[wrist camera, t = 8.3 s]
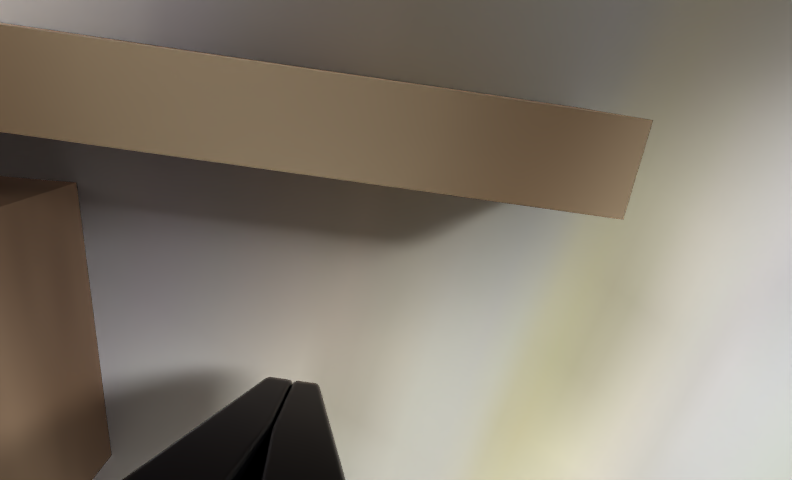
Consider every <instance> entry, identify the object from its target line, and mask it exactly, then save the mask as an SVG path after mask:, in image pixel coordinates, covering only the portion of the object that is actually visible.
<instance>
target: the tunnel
mask: <svg viewBox="0 0 792 480" xmlns="http://www.w3.org/2000/svg"><path fill="white" fill-rule="evenodd" d="M652 122H653V120H648V119H642V118H636V117H630V116H624V115H619V114H613V113H607V112H601V111H595V110H589V109H584V108H578V107H571V106H564V105H557V104H550V103H543V102H537V101H530V100H523V99H516V98H509V97H503V96H496V95H489V94H482V93H475V92H469V91H462V90H455V89H448V88H441V87H434V86H428V85H421V84H414V83H407V82H400V81H394V80H387V79H380V78H373V77H366V76H360V75H353V74H346V73H339V72H332V71H325V70H319V69H312V68H305V67H298V66H291V65H285V64H278V63H271V62H264V61H257V60H251V59H244V58H237V57H230V56H223V55H216V54H210V53H203V52H196V51H189V50H182V49H176V48H169V47H162V46H155V45H148V44H142V43H135V42H128V41H121V40H114V39H107V38H101V37H94V36H87V35H80V34H73V33H67V32H60V31H53V30H46V29H39V28H33V27H26V26H19V25H12V24H5V23H0V132H3V133H11V134H18V135H25V136H32V137H39V138H46V139H53V140H60V141H68V142H75V143H82V144H89V145H96V146H103V147H110V148H117V149H125V150H132V151H139V152H146V153H153V154H160V155H167V156H174V157H182V158H189V159H196V160H203V161H210V162H217V163H224V164H231V165H239V166H246V167H253V168H260V169H267V170H274V171H281V172H288V173H296V174H303V175H310V176H317V177H324V178H331V179H338V180H345V181H353V182H360V183H367V184H374V185H381V186H388V187H395V188H402V189H409V190H417V191H424V192H431V193H438V194H445V195H452V196H459V197H466V198H474V199H481V200H488V201H495V202H502V203H509V204H516V205H523V206H531V207H538V208H545V209H552V210H559V211H566V212H573V213H580V214H588V215H595V216H602V217H609V218H616V219H623V218H624V215H625V212H626V208H627V205H628V202H629V198H630V195H631V192H632V188H633V185H634V182H635V179H636V175H637V172H638V169H639V165H640V162H641V159H642V155H643V152H644V149H645V145H646V142H647V139H648V136H649V132H650V129H651V126H652Z"/></svg>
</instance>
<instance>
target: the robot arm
mask: <svg viewBox="0 0 792 480" xmlns="http://www.w3.org/2000/svg"><path fill="white" fill-rule="evenodd" d="M123 480H345V477H344V473H343V470H342V466H341V462H340V459H339V455H338V452H337V448H336V445H335V441H334V437H333V434H332V430H331V427H330V423H329V419H328V416H327V412H326V409H325V405H324V402H323V398H322V394H321V391H320V387H319V386H318V384H316V383H309V382H302V381H296V382H294V383H293V384H292V381H291V380H288V379H281V378H274V377H268V378H266V379H264V380H263V381H261V382H260V383H258V384H257V385H256V386H254V387H253V388H251V389H250V390H249V391H247V392H246V393H244V394H243V395H241V396H240V397H239V398H237V399H236V400H234V401H233V402H232V403H230V404H229V405H227V406H226V407H224V408H223V409H222V410H220V411H219V412H217V413H216V414H215V415H213V416H212V417H210V418H209V419H208V420H206V421H205V422H203V423H202V424H200V425H199V426H198V427H196V428H195V429H193V430H192V431H191V432H189V433H188V434H186V435H185V436H183V437H182V438H181V439H179V440H178V441H176V442H175V443H174V444H172V445H171V446H169V447H168V448H166V449H165V450H164V451H162V452H161V453H159V454H158V455H157V456H155V457H154V458H152V459H151V460H149V461H148V462H147V463H145V464H144V465H142V466H141V467H140V468H138V469H137V470H135V471H134V472H133V473H131V474H130V475H128V476H127V477H125V478H124V479H123Z"/></svg>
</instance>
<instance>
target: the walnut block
mask: <svg viewBox="0 0 792 480" xmlns="http://www.w3.org/2000/svg"><path fill="white" fill-rule="evenodd" d="M110 456H111V447H110V439H109V431H108V424H107V416H106V408H105V400H104V393H103V385H102V377H101V369H100V361H99V354H98V346H97V338H96V330H95V323H94V315H93V307H92V299H91V291H90V284H89V276H88V268H87V260H86V253H85V245H84V237H83V229H82V221H81V214H80V206H79V198H78V190H77V183H76V182H64V181H53V180H41V179H30V178H18V177H7V176H0V480H92V479H93V478H94V477H95V476H96V474H97V473H98V472H99V470H100V469H101V468H102V467H103V465H104V464H105V463H106V461H107V460H108V459H109V458H110Z"/></svg>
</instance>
